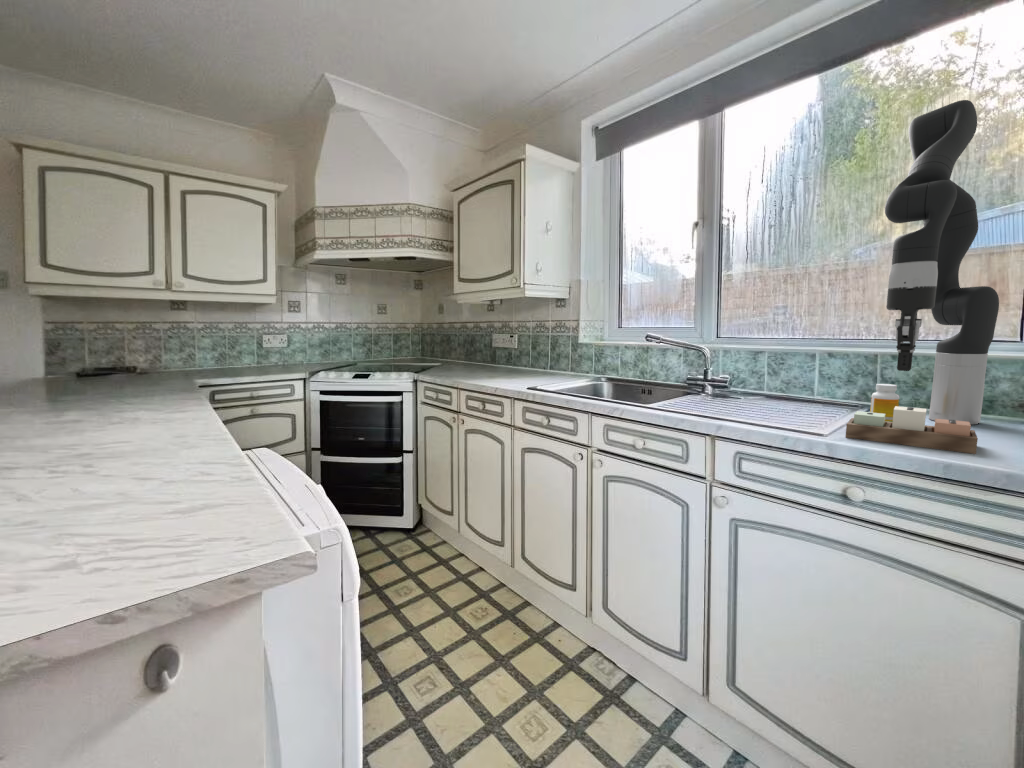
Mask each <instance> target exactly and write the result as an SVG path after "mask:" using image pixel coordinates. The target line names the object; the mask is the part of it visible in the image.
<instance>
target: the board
mask: <svg viewBox="0 0 1024 768" xmlns="http://www.w3.org/2000/svg"><path fill="white" fill-rule="evenodd" d="M853 423H854V417H851V418H850V419H849V421H848V422H847V423H846V426H845V427H846V428H845V438H847V439H854V438H855V440H862V439H863V441H869V442H870V441H871V442H879V443H886V444H893V443H894V444H895V445H901V444H902V445H903V446H910V447H917V448H925V449H932V450H933V449H934V450H942V451H949V452H958V453H964V454H971V455H972V454H973V455H976V454H977V447H978V439H979V437H978V435H977V433H976V430H974V429H973V430H972V429H970V436H962V435H953V434H944V433H935V432H934V425H926V424H925V428H924V431H917V430H908V429H899V428H892V423H893V422H889V421H885V424H884V427H881V426H872V425H863V424H853Z"/></svg>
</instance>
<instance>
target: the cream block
mask: <svg viewBox="0 0 1024 768" xmlns="http://www.w3.org/2000/svg"><path fill="white" fill-rule="evenodd" d="M926 416H927V408H920V407H912V406H899V407H898V406H895V408H894V413H893V423H892V428H899V429H908V430H917V431H924V428H925V425H926V418H927V417H926Z"/></svg>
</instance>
